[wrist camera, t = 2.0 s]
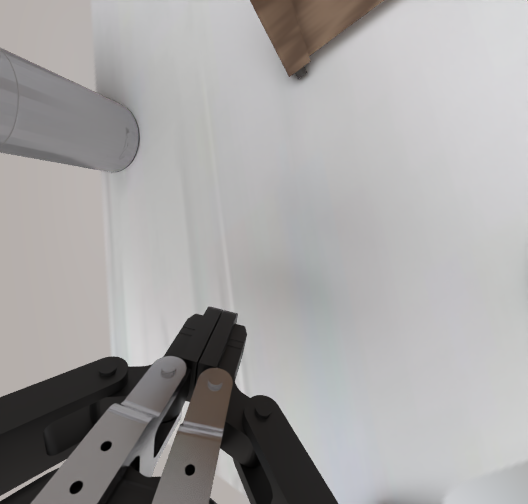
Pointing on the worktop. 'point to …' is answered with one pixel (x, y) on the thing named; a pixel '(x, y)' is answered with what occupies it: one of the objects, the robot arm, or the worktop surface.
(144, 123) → the worktop surface
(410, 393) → the worktop surface
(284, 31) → the gate
